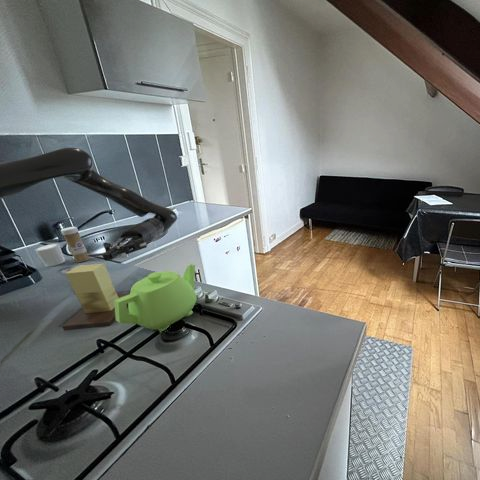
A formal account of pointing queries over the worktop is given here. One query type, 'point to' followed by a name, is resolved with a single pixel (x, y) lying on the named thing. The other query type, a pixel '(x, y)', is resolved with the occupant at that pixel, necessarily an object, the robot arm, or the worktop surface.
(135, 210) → the robot arm
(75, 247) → the sprinkles bottle
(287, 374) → the worktop surface
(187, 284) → the teapot
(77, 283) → the block
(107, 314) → the butter board
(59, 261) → the white squat cylinder
